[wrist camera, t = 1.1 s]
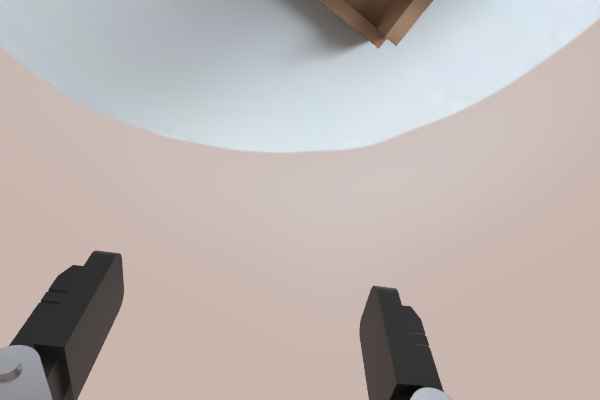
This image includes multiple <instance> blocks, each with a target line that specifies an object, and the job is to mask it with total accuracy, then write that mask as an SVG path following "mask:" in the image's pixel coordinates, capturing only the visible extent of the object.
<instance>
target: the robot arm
mask: <svg viewBox="0 0 600 400" xmlns="http://www.w3.org/2000/svg"><path fill="white" fill-rule="evenodd" d="M123 295H124V283H123V268H122V257H121V254H119V253H111V252H103V251H94V252H93V253H92V254H91V256H90V257H89V258H88V260H87V262H86V263H85V265H84V266H77V265H73V266H71V267H70V268H68V269H67V270H66V271H64V272H63V273H61V274H60V275H58V277H57V278H56V279H55V281H54V282H53V284H52V285H51V287H50V288H49V291H48V292H46V294H45V295H44V297H43V298H42V300H41V303H39V304H38V305H37V307H36V308H35V309H34V311H33V312H32V314H31V315H30V317H29V318H28V319H27V321H26V322H25V324H24V325H23V327H22V328H21V329H20V331H19V332H18V334H17V335H16V337H15V338H14V339H13V341H12V342H11V344H10V345H9V346H8V347H4V348H1V349H0V400H77V399H78V396H79V394H80V392H81V390H82V388H83V386H84V384H85V382H86V379H87V377H88V375H89V373H90V371H91V369H92V367H93V365H94V363H95V361H96V358H97V356H98V354H99V352H100V350H101V348H102V346H103V344H104V341H105V339H106V337H107V335H108V333H109V331H110V329H111V327H112V325H113V323H114V320H115V318H116V316H117V314H118V312H119V310H120V307H121V304H122V301H123ZM360 342H361V348H362V355H363V362H364V368H365V375H366V382H367V389H368V395H369V400H452V398H450V396H448V395H447V394H446V393H444V391H443V389H442V385H441V382H440V379H439V376H438V373H437V369H436V366H435V363H434V360H433V357H432V353H431V350H430V348H429V347H428V346H429V344H428V341H427V337H426V336H425V331H424V328H423V325H422V321H421V319H420V318H419V316H418V315H417V314H416V313H415V311H414V310H413V309H412V308H411V307H410V306H402V304H401V301H400V297H399V293H398V291H397V289H395V288H387V287H379V286H373V287H372V289H371V291H370V294H369V297H368V300H367V303H366V306H365V309H364V312H363V315H362V318H361V322H360Z"/></svg>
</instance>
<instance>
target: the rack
mask: <svg viewBox="0 0 600 400" xmlns="http://www.w3.org/2000/svg"><path fill="white" fill-rule="evenodd" d="M319 1H320V2H321V3H322V4H324V5H325V6H326V7H327V8H329V9H330V10H331V11H332V12H334V13H335V14H336V15H337V16H339V17H340V18H341V19H342V20H344V21H345V22H346V23H347V24H349V25H350V26H351V27H352V28H354V29H355V30H356V31H357V32H358V33H360V34H361V35H362V36H363V37H365V38H366V39H367V40H368V41H370V42H371V43H372V44H373V45H375V46H376V47H377V48H378V49H379V47H380V46H381V45H382V44H383V42H384V41H385V40H386V39H388V40H389V41H391V42H392V43H393V44H394V45H395V46H397V44H398V43H399V42H400V41H401V39H402V38H403V37H404V36H405V34H406V33H407V32H408V31H409V29H410V28H411V27H412V26H413V24H414V23H415V22H416V21H417V20H418V18H419V17H420V16H421V15H422V13H423V12H424V11H425V10H426V8H427V7H428V6H429V5H430V3H431V2H432V1H433V0H319Z"/></svg>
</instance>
